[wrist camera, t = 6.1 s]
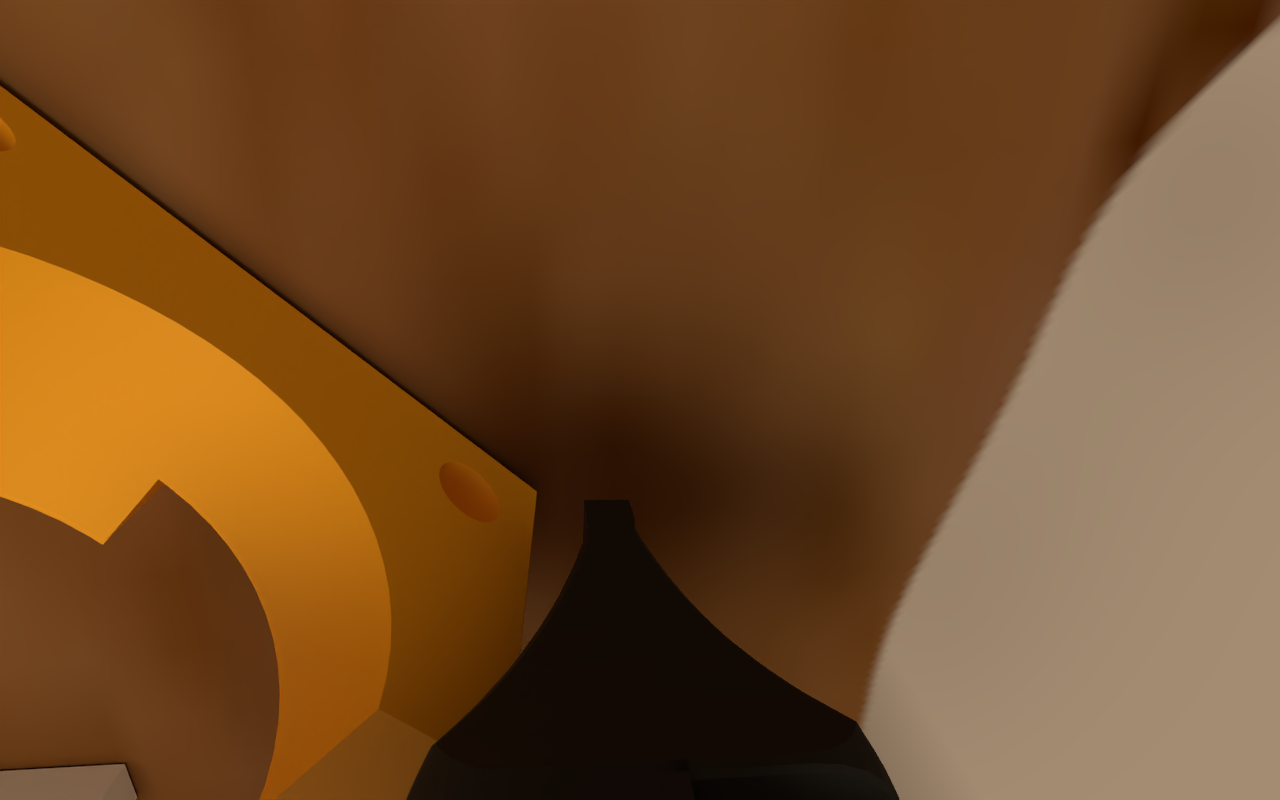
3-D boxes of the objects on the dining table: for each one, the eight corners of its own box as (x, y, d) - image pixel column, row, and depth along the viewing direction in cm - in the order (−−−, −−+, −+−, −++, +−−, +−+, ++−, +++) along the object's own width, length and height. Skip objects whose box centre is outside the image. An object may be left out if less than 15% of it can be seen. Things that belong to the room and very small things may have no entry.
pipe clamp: (-193, 238, 11) (-1049, 423, 5) (-76, 28, 10) (-1005, -34, 4) (409, 608, 15) (305, 933, 10) (536, 491, 14) (506, 778, 8)
